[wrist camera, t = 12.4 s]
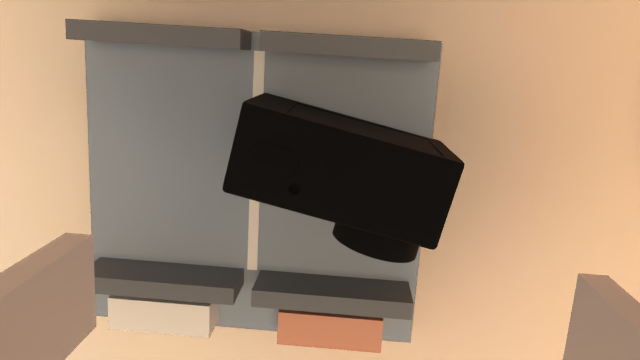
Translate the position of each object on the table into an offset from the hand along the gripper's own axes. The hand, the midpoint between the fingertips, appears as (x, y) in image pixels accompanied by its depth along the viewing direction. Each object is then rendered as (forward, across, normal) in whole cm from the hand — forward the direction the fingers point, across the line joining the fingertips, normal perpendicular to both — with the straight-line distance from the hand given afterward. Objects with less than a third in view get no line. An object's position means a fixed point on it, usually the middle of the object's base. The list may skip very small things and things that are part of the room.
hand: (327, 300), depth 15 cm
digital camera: (+18, 0, 0) cm, 18 cm away
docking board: (+18, -5, -2) cm, 19 cm away
